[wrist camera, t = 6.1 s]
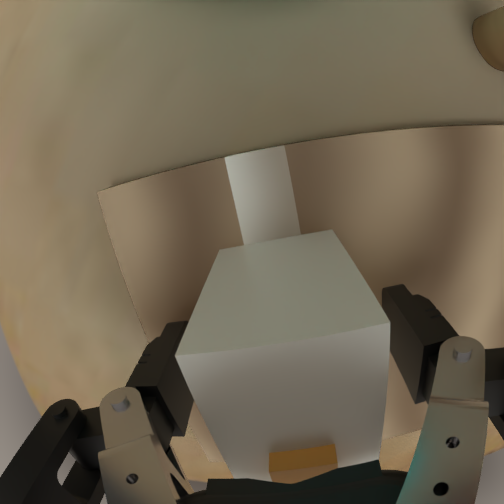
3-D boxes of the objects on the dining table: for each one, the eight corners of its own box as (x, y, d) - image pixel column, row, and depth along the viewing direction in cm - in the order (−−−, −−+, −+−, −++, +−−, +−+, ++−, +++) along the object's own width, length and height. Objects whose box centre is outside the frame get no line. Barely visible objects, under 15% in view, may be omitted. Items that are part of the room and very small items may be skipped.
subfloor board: (512, 125, 10) (528, 125, 9) (484, 390, 15) (492, 401, 14) (110, 187, 12) (96, 192, 11) (212, 447, 17) (209, 461, 16)
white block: (332, 229, 11) (401, 341, 5) (344, 362, 13) (378, 494, 7) (219, 249, 11) (166, 375, 5) (253, 377, 13) (243, 511, 7)
